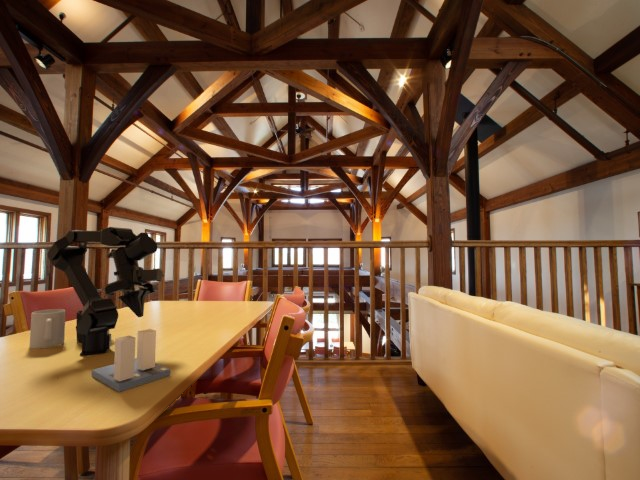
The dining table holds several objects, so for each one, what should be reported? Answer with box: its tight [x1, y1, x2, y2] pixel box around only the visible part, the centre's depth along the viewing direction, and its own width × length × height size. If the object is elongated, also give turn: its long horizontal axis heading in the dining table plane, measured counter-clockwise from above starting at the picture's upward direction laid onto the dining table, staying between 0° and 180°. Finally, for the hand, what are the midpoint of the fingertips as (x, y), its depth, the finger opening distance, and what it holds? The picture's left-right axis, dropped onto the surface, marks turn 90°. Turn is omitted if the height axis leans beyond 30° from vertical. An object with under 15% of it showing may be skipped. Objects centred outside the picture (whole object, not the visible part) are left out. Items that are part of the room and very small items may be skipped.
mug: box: [29, 308, 66, 350], centre depth 98 cm, size 12×8×11 cm
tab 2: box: [136, 328, 157, 371], centre depth 76 cm, size 3×3×9 cm
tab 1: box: [113, 335, 136, 381], centre depth 70 cm, size 3×3×9 cm
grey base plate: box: [91, 357, 171, 393], centre depth 75 cm, size 15×12×2 cm
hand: (140, 316), depth 88 cm, fingers closed
